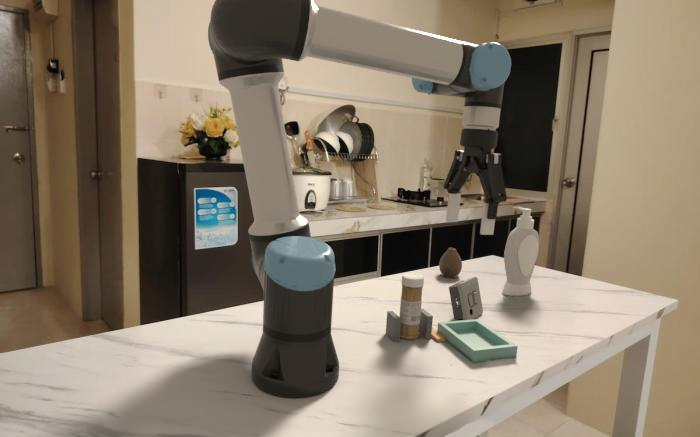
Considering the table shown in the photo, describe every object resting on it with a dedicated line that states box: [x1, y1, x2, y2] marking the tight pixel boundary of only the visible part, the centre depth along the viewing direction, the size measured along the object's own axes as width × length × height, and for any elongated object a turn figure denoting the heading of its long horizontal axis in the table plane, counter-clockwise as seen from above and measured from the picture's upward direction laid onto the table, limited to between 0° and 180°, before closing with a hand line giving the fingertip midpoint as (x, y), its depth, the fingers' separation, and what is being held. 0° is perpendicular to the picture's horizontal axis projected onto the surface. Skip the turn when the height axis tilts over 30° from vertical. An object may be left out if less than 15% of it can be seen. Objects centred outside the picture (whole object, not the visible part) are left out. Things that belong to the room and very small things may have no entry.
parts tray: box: [436, 318, 518, 364], centre depth 99 cm, size 10×14×2 cm
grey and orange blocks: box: [385, 308, 447, 343], centre depth 102 cm, size 11×8×5 cm
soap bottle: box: [501, 206, 540, 297], centre depth 135 cm, size 13×8×24 cm, turn 117°
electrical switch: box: [448, 276, 484, 320], centre depth 115 cm, size 9×5×9 cm, turn 141°
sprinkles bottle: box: [399, 272, 425, 340], centre depth 101 cm, size 5×5×13 cm
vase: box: [438, 247, 463, 278], centre depth 148 cm, size 7×7×9 cm
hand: (468, 227), depth 104 cm, fingers open, 13 cm apart
